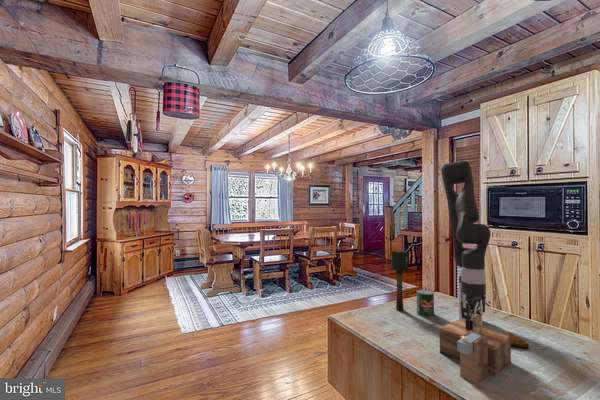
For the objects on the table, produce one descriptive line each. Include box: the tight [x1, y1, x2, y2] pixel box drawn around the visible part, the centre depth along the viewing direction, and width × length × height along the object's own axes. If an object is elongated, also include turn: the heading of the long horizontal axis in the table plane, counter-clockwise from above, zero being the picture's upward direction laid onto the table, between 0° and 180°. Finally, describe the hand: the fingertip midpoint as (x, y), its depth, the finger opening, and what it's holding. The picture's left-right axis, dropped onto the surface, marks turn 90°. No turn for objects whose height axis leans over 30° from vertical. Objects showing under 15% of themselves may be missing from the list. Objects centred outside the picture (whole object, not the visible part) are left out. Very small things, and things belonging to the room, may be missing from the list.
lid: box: [439, 313, 510, 350], centre depth 106 cm, size 13×18×7 cm
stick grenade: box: [390, 249, 409, 312], centre depth 153 cm, size 8×9×30 cm
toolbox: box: [439, 330, 512, 384], centre depth 103 cm, size 22×18×12 cm
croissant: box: [498, 330, 530, 349], centre depth 116 cm, size 14×7×5 cm, turn 47°
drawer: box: [457, 332, 482, 355], centre depth 94 cm, size 10×3×4 cm, turn 126°
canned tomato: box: [416, 288, 435, 318], centre depth 147 cm, size 8×8×11 cm
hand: (473, 327), depth 106 cm, fingers open, 6 cm apart
